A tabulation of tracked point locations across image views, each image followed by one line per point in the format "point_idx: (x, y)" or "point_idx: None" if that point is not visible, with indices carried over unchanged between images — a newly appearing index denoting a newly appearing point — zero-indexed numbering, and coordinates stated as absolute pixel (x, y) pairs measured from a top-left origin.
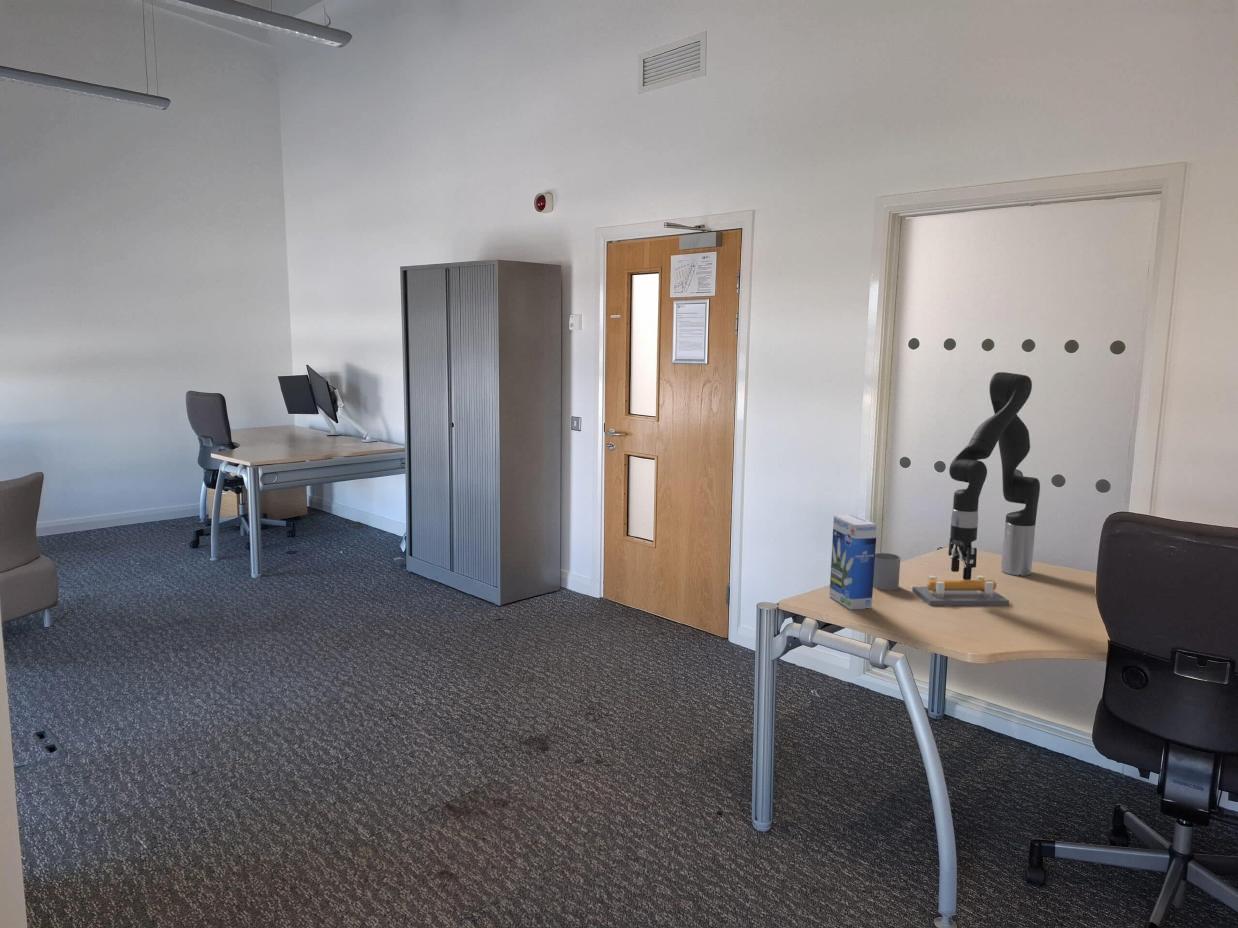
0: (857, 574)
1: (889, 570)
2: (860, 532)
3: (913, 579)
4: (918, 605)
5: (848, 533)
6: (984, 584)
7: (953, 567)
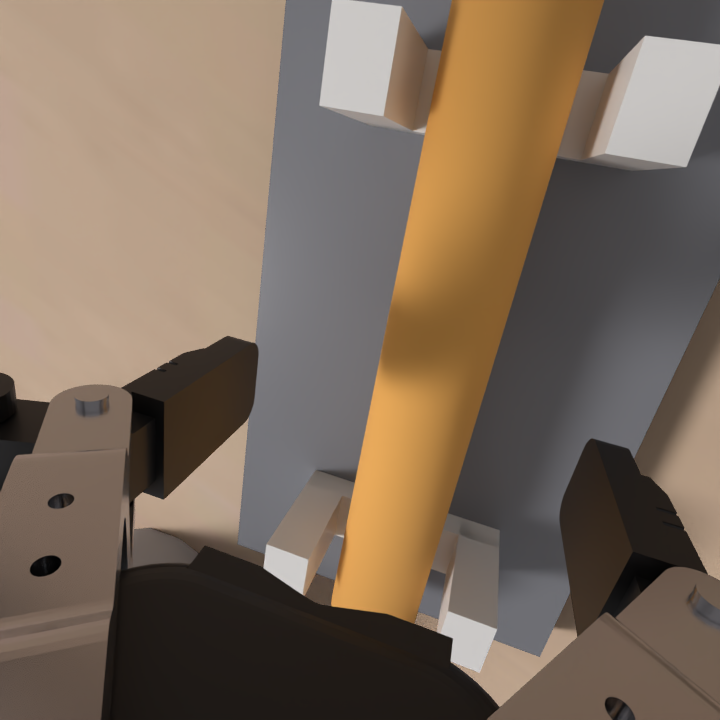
0: None
1: None
2: None
3: (35, 361)
4: (513, 673)
5: None
6: (558, 130)
7: (225, 423)
